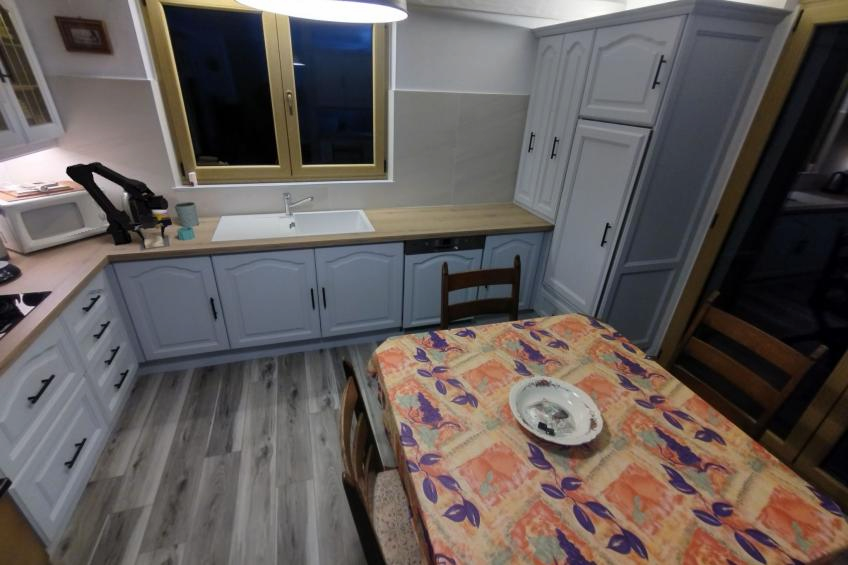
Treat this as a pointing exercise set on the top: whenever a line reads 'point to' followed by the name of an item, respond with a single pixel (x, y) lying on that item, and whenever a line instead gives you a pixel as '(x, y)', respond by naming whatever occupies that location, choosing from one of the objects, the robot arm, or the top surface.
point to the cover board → (153, 240)
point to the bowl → (185, 233)
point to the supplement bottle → (161, 216)
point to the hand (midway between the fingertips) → (154, 240)
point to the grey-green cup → (187, 214)
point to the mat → (143, 247)
